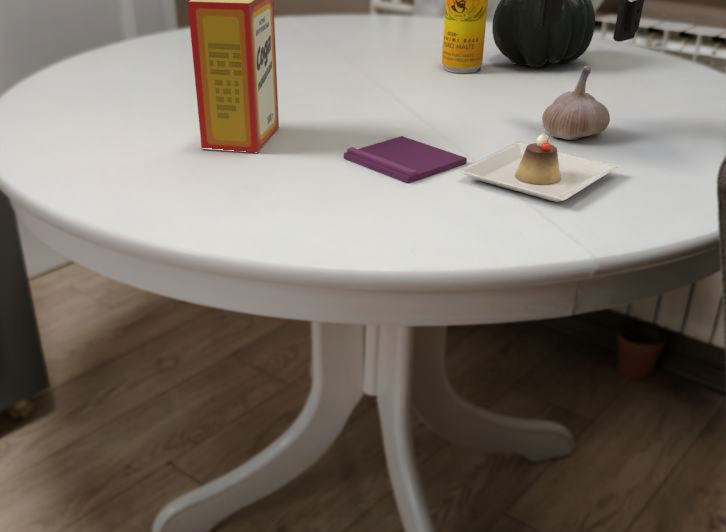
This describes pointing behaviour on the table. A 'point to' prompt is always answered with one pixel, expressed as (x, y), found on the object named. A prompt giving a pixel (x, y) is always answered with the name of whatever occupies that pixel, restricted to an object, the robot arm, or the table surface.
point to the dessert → (538, 170)
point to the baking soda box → (234, 72)
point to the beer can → (464, 35)
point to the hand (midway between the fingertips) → (585, 31)
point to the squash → (542, 32)
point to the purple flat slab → (404, 158)
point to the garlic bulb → (576, 113)
